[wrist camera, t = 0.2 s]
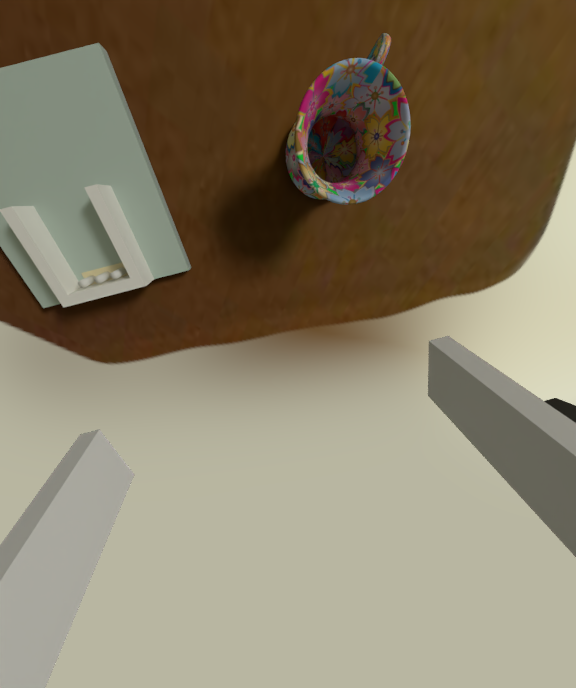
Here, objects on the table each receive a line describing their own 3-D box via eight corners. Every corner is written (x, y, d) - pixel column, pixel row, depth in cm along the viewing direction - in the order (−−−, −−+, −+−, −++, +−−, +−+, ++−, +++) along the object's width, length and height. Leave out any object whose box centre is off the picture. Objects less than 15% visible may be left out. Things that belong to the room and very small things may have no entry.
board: (-87, 100, 25) (-149, 82, 21) (106, 50, 25) (79, 23, 21) (51, 304, 35) (25, 317, 31) (191, 267, 35) (183, 276, 31)
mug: (340, 215, 34) (375, 221, 25) (269, 183, 32) (277, 176, 22) (389, 99, 30) (455, 52, 20) (310, 51, 27) (343, -29, 18)
